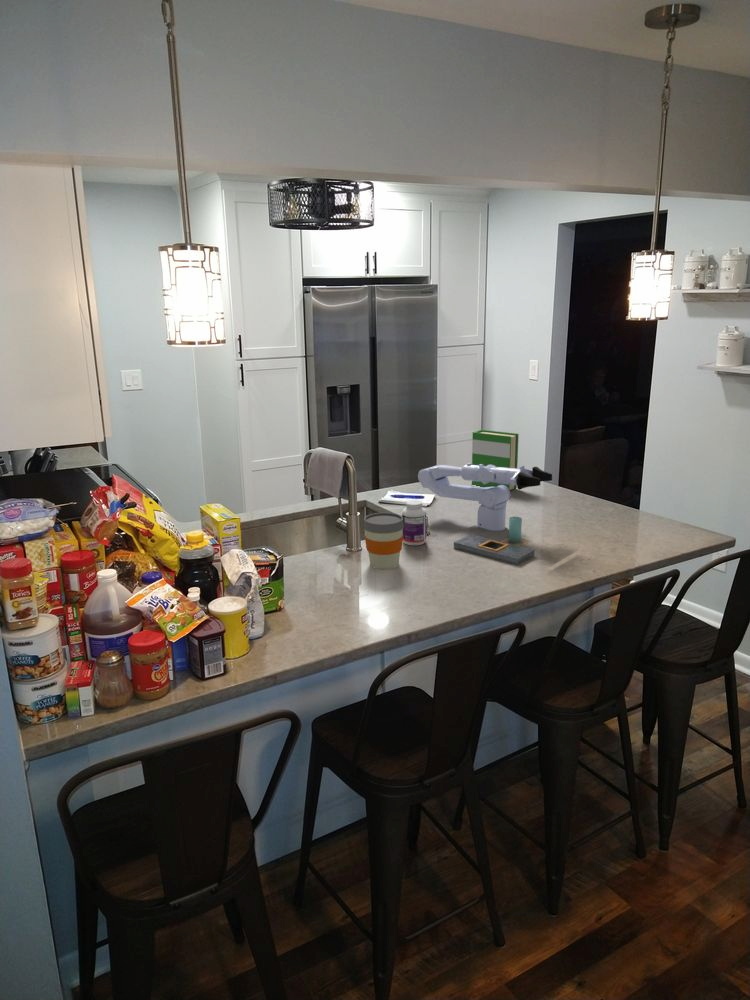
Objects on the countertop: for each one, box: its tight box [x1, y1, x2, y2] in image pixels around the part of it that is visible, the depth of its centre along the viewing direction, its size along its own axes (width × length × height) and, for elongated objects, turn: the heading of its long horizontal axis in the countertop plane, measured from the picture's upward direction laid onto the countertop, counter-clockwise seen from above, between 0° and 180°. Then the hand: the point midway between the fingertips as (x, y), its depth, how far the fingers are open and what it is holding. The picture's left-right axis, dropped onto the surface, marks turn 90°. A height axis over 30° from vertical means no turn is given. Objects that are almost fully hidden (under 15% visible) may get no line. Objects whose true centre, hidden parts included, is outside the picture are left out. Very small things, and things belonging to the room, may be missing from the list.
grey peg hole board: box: [453, 533, 535, 569], centre depth 228 cm, size 24×10×3 cm, turn 48°
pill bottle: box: [401, 499, 427, 547], centre depth 239 cm, size 8×8×14 cm
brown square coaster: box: [499, 536, 532, 547], centre depth 238 cm, size 8×8×1 cm
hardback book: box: [471, 429, 519, 492], centre depth 302 cm, size 18×7×24 cm, turn 52°
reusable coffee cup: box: [363, 512, 404, 570], centre depth 221 cm, size 13×13×15 cm
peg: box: [508, 516, 523, 543], centre depth 237 cm, size 4×4×8 cm
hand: (545, 479), depth 234 cm, fingers open, 7 cm apart
